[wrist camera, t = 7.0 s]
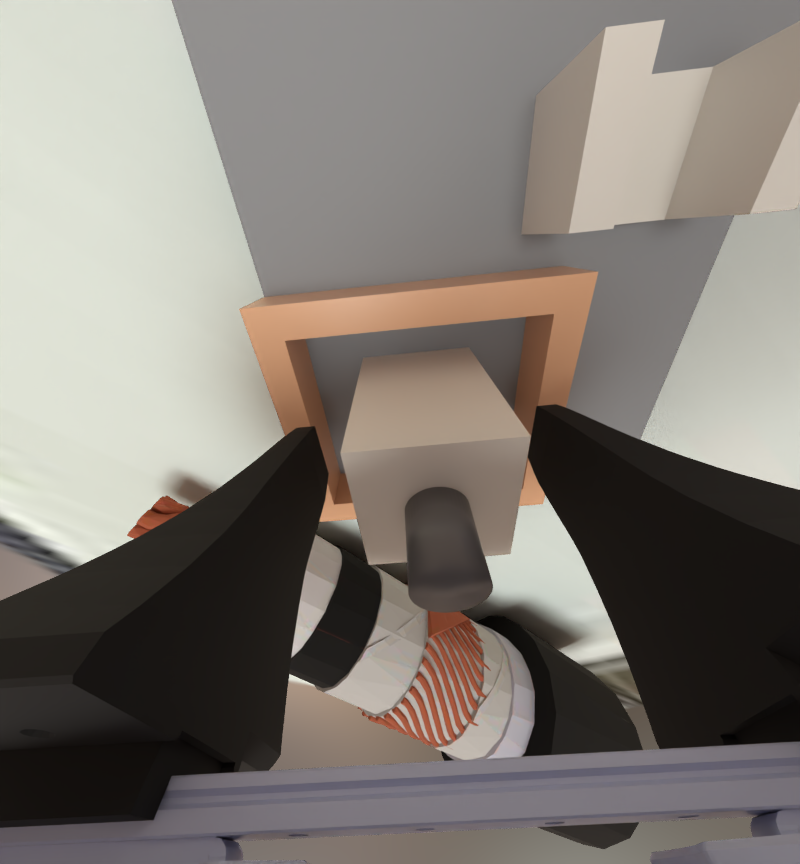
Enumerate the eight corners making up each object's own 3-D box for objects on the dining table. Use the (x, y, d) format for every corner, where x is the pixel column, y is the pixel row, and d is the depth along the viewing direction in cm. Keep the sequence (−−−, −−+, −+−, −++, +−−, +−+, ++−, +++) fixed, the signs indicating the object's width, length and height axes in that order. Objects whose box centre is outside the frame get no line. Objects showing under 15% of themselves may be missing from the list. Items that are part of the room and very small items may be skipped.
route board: (1331, -1434, 3) (1712, -2113, 2) (610, 467, 16) (622, 480, 15) (-124, -1062, 3) (-292, -1485, 3) (332, 490, 16) (329, 504, 16)
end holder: (563, 265, 10) (598, 271, 8) (525, 473, 15) (542, 504, 13) (264, 297, 10) (239, 308, 8) (324, 490, 15) (316, 522, 13)
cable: (244, 419, 19) (165, 450, 9) (560, 636, 29) (681, 762, 19) (139, 546, 19) (-56, 717, 9) (497, 724, 28) (588, 899, 19)
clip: (736, 70, 8) (908, -12, 5) (685, 216, 9) (796, 208, 7) (536, 95, 8) (605, 27, 5) (521, 234, 9) (568, 233, 7)
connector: (468, 347, 11) (581, 509, 5) (465, 435, 13) (539, 633, 7) (363, 357, 11) (321, 530, 5) (377, 443, 14) (362, 645, 7)
